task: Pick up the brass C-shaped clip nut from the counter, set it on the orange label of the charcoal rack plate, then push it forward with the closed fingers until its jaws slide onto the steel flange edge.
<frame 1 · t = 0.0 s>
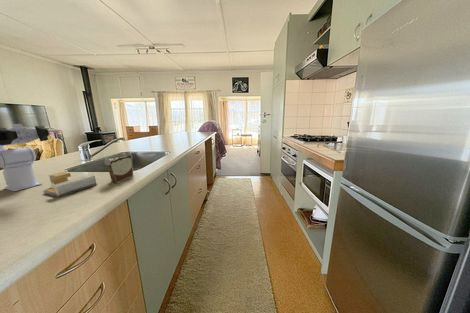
hand: (32, 133, 61), 22 cm above the worktop, tool horizontal, fingers open, 7 cm apart
clip nut: (62, 185, 73), on the worktop
food container: (119, 179, 79), on the worktop
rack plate: (71, 189, 69), on the worktop
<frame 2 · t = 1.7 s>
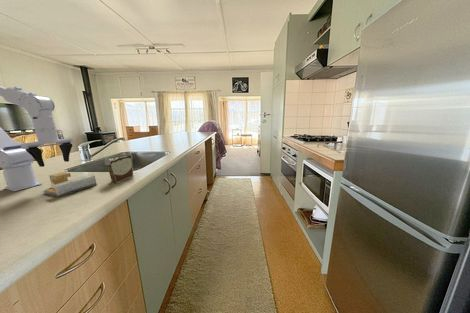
hand: (55, 163, 72), 9 cm above the worktop, tool pointing down, fingers open, 7 cm apart
nothing on the worktop moved.
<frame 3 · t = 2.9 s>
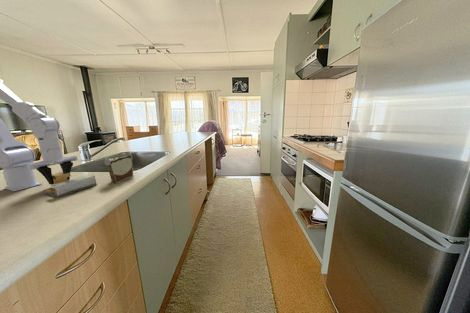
hand: (59, 181, 74), 1 cm above the worktop, tool pointing down, fingers closed on clip nut, 4 cm apart
clip nut: (62, 185, 73), on the worktop, touching gripper
everything else where it was.
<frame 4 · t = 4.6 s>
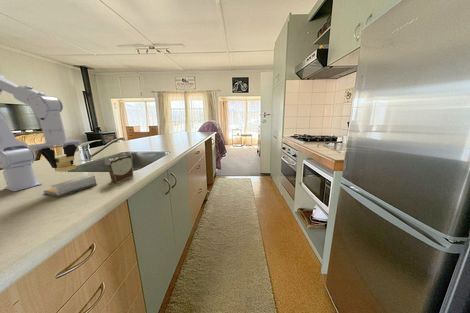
hand: (63, 165, 70), 9 cm above the worktop, tool pointing down, fingers closed on clip nut, 4 cm apart
clip nut: (66, 169, 70), point 7 cm above the worktop, touching gripper
everything else where it was.
when the fingers open (4 cm above the worktop, at t = 6.3 s): clip nut stays where it is, resting on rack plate.
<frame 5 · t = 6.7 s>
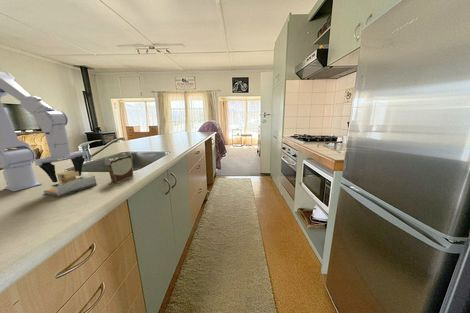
hand: (67, 178, 71), 4 cm above the worktop, tool pointing down, fingers open, 7 cm apart
clip nut: (71, 184, 71), point 1 cm above the worktop, touching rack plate
everything else where it was.
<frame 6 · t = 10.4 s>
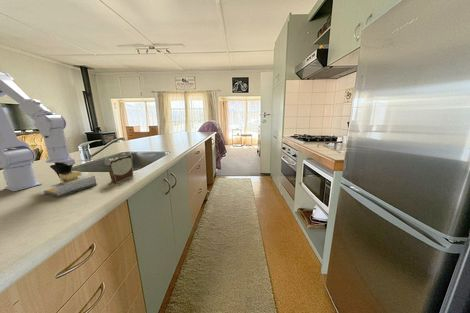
hand: (66, 181, 72), 2 cm above the worktop, tool pointing down, fingers closed
clip nut: (72, 185, 70), point 1 cm above the worktop, touching gripper, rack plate
everything else where it was.
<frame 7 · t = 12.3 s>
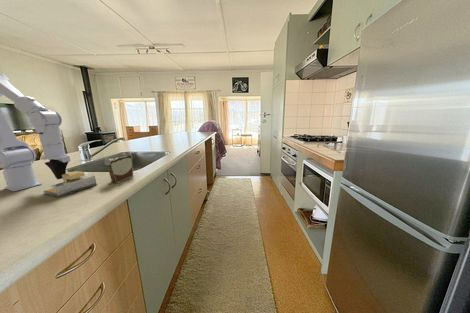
hand: (61, 178, 71), 4 cm above the worktop, tool pointing down, fingers closed
clip nut: (76, 185, 70), point 1 cm above the worktop, touching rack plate
everything else where it was.
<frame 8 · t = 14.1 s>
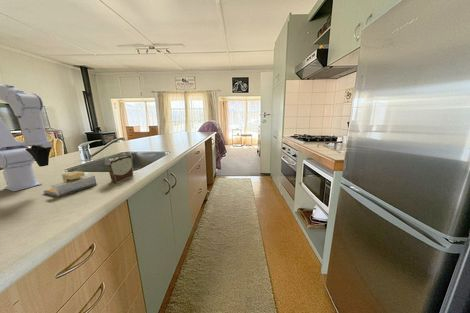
hand: (43, 165, 68), 9 cm above the worktop, tool pointing down, fingers closed
nothing on the worktop moved.
at the end: clip nut 0.8 cm from the target spot on the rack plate, point 1.1 cm above the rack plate's base; clip nut tilted 0°; the gripper is holding nothing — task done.
